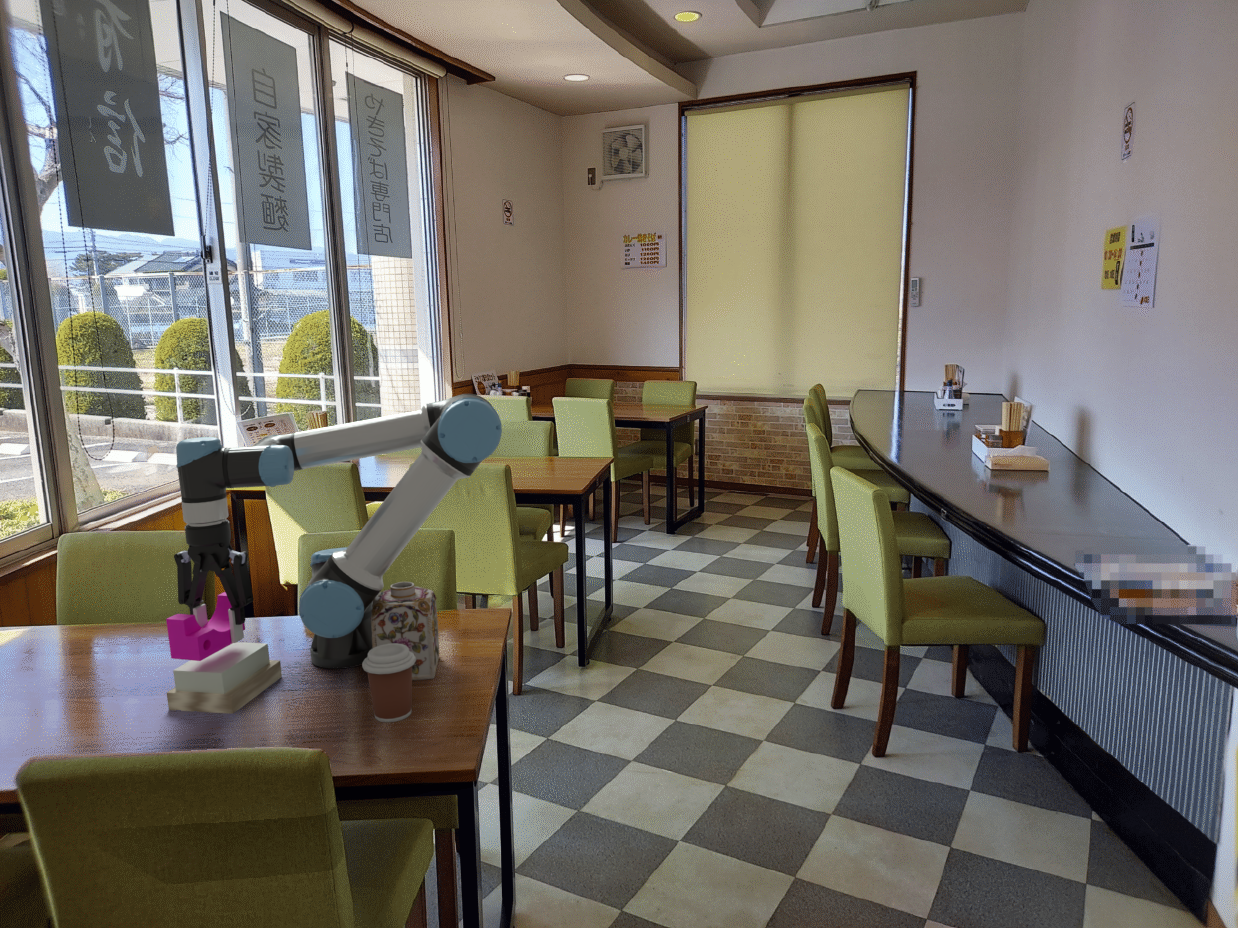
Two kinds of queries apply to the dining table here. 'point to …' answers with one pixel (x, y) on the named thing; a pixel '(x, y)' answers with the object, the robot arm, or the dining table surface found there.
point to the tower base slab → (231, 698)
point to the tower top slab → (222, 668)
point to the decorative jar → (408, 624)
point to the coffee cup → (390, 681)
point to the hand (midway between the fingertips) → (220, 639)
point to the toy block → (200, 633)
